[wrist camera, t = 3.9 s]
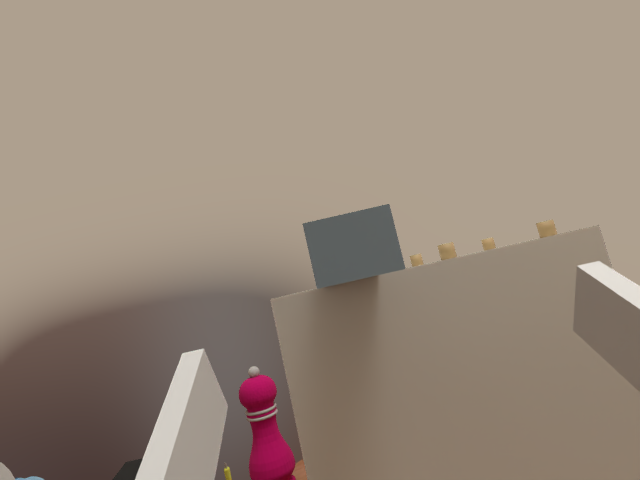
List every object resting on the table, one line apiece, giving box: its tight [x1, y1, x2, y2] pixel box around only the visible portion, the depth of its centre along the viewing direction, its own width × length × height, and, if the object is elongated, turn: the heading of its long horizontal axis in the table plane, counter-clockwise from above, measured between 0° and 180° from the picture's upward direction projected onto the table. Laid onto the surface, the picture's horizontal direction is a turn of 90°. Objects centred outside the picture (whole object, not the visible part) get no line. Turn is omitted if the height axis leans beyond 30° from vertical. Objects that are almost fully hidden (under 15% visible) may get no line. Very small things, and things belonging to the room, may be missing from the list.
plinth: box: [270, 220, 640, 480], centre depth 38 cm, size 22×24×31 cm
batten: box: [303, 204, 405, 289], centre depth 32 cm, size 28×4×3 cm, turn 177°
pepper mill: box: [239, 366, 296, 480], centre depth 63 cm, size 7×7×20 cm
